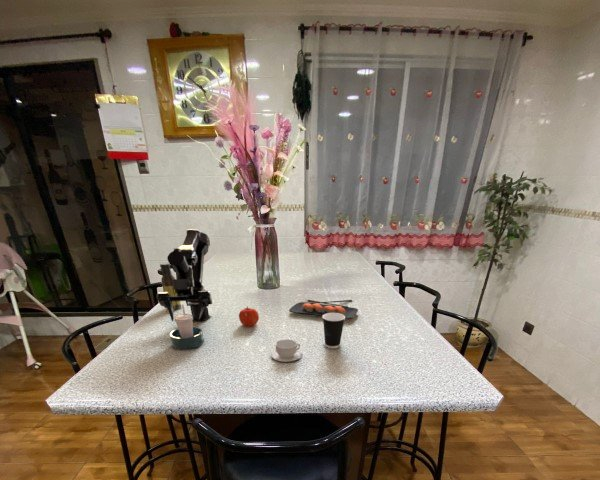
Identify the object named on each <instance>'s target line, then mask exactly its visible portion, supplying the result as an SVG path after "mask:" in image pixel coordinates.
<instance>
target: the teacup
mask: <svg viewBox="0 0 600 480" xmlns="http://www.w3.org/2000/svg"><path fill="white" fill-rule="evenodd" d="M274 346H275V351H274V352H272V354H271V357H272V359H274V360H275V361H277V362H285V363H286V362H287V363H288V362H294V361H297V360H299V359H300V358H301V357H302V353H301V352H300V351H298V350H299V349H300V348H301V344H300V343H298V342H297V341H296V340H293V339H287V338H286V339H279V340H277V341H276V342H275V343H274Z"/></svg>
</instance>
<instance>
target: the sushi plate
mask: <svg viewBox="0 0 600 480" xmlns="http://www.w3.org/2000/svg"><path fill="white" fill-rule="evenodd" d="M345 302H347V303H348V302H349V303H350V302H353V300H352V299H345V300H344V299H342V300H333V301H318V300H312V299H307V301H300V302H297V303H296V304H294V305H293V306H292V307H290V308H289V312H290V313H294V314H298V315H303V316H310V317H312V316H313V317H318V318H319V317H320V318H322V316H323V315H324V314H326V313H340V314H343V315H344V316H345V319H344V320H350V319H353V318H354V317H355V316H356V315H357V313H358V312H359V311H358V310H359V309H358V308H356V307H350V306H348V305H341V304H335V303H345Z"/></svg>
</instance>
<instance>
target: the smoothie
mask: <svg viewBox="0 0 600 480" xmlns="http://www.w3.org/2000/svg"><path fill="white" fill-rule="evenodd" d="M181 308H182V312H183V313H181V314H177V315H175V316H174V322H175V323H176V327H177V329H179V332H180V335H181V338H188V337H193V327H194V325H193V323H194V322H193V321H194V320H193V316H192V314H191V313H186V309H185V306H184V303H182V304H181Z"/></svg>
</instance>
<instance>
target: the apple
mask: <svg viewBox="0 0 600 480" xmlns="http://www.w3.org/2000/svg"><path fill="white" fill-rule="evenodd" d="M259 318H260V315H259V312H258V310H256V309H255V308H251V307H249V306H246V307H245V308H243V309H241V310H240V312H239V313H238V319H239V321H240V323H241V324H242V326H244V327H249V328H251V327H255V326H256V325H257V323H258V322H259Z"/></svg>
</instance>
